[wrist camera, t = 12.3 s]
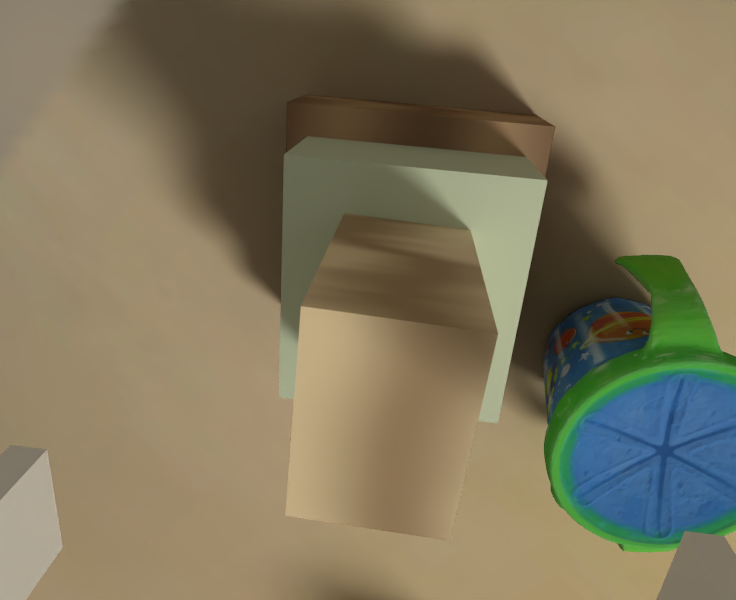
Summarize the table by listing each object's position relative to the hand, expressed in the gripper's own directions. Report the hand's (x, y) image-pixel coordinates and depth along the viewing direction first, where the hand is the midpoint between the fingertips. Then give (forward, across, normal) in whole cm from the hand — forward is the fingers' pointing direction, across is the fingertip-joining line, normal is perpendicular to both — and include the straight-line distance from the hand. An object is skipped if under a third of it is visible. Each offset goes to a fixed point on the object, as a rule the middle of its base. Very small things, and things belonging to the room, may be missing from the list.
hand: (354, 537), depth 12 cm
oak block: (+13, 0, 0) cm, 13 cm away
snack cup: (+23, +14, -6) cm, 27 cm away
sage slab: (+18, +1, 0) cm, 18 cm away
